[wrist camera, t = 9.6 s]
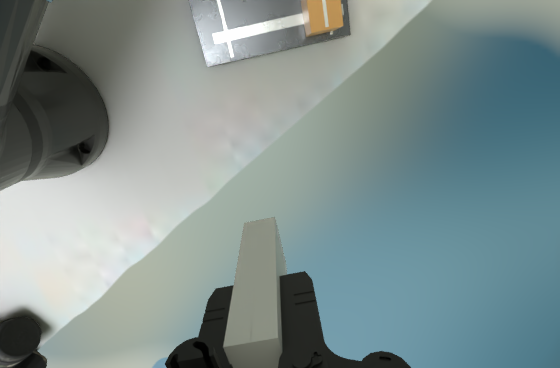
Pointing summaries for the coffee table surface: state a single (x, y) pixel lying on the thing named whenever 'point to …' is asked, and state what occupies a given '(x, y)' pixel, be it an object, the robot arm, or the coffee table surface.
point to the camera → (20, 344)
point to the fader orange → (321, 16)
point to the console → (254, 28)
